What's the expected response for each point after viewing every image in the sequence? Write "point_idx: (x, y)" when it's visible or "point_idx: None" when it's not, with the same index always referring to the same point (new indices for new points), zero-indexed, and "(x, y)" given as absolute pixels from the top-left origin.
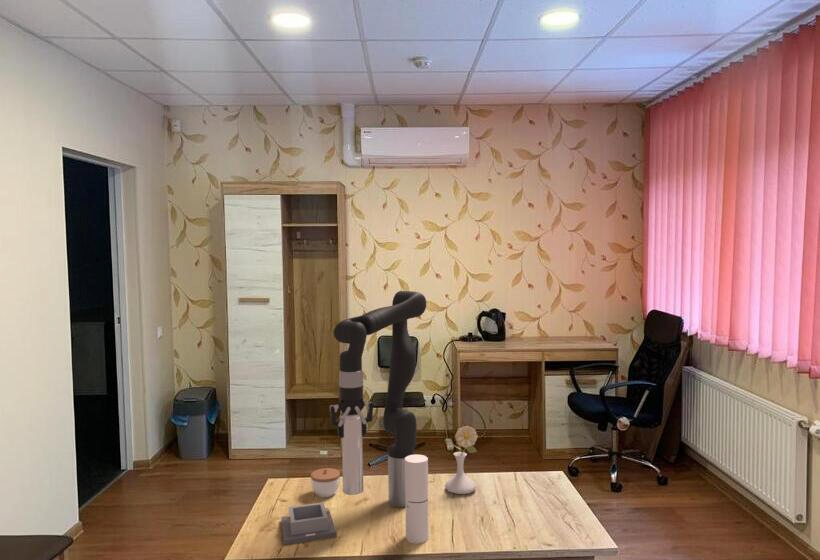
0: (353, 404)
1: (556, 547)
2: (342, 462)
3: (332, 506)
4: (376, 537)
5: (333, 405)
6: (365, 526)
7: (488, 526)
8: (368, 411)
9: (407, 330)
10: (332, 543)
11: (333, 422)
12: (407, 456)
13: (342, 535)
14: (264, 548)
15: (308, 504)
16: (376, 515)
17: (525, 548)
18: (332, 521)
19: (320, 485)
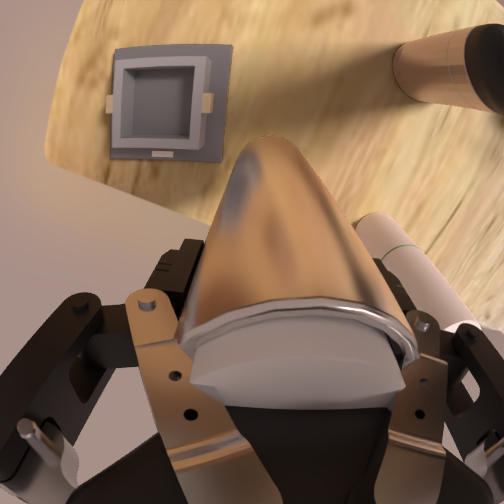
0: None
1: (486, 324)
2: (226, 185)
3: (252, 8)
4: None
5: (10, 489)
6: (299, 140)
7: (481, 249)
8: (469, 429)
9: None
10: (207, 184)
11: (88, 370)
12: (447, 329)
13: (236, 158)
14: (82, 157)
15: (164, 57)
16: (343, 100)
17: None
18: (224, 106)
19: None
